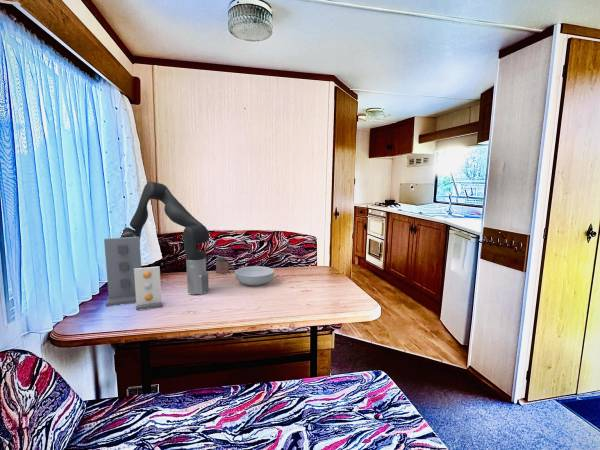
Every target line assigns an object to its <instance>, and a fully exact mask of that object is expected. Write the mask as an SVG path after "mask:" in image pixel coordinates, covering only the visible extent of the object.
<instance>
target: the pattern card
mask: <svg viewBox="0 0 600 450" xmlns="http://www.w3.org/2000/svg"><path fill="white" fill-rule="evenodd" d="M160 270H161V269H160V266H150V267H149V266H148V267H141V268H137V269H134V278H135V292H136V303H135V304H136V305H135V306H136V307H135V311H136V310H138V311H141V310H140V309H145V310H148V309H147V308H153V309H155V308H154V307H160V308H162V304H163V301H162V288H161V285H162V284H161V271H160Z"/></svg>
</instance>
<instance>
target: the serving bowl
mask: <svg viewBox="0 0 600 450" xmlns="http://www.w3.org/2000/svg"><path fill="white" fill-rule="evenodd" d="M274 274H275V270H274V269H273V268H271V267H269V266H260V265H254V266H253V265H252V266H244V267H240V268H238V269H236V270H235V271H234V275H235V279H236V280H237V281H238V282H240V283H241V284H244V285H247V286H252V285H255V286H261V285H264V284H267V283H269V282H271V280H272V279H273V278H274Z"/></svg>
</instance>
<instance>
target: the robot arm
mask: <svg viewBox="0 0 600 450" xmlns="http://www.w3.org/2000/svg"><path fill="white" fill-rule="evenodd" d="M141 192H142V193H141V196H140V199H139V202H138V205H137V208H136V210H135V212H134V214H133V216H132V218H131V220H130V222H129V226H130V227H124V228H125V229H124V230H123V233H122V235H121V237H120V236H119V238H125V237H139V238H140V239H141V237H142V230H143V227H144V226H145V224H146V222H147V220H148V218H149V209H148V204H149V202H150V200H151V199H152V200H154V201H155V200H156V201H161V202H162V203H163V205H164V206H163V207H164V208H163V209H164V214H165V215H166V216H167V217H168V219H169V220H170V221H172V222H173V223H174V224H176V225H179V226H181V227H183V228H184V229H183V233H182V235H183V236H182V237H183V248H184V249H183V251H184V255H185V259H186V260H185V261H186V262H185V263H186V264H185V266H186V284H187V294H188V293H190V294H203V293H204V292H206V291H208V290H209V289H210V287H209V285H210V284H209V283H210V281H209V273H208V272H207V255H206V252H205V251H204V250H199V249H197V245H202V244H206V243H207V242H208V241H209V239H210V233H209V230H208V229H207V227H206V226H205V225H204V224H203V223H201V222H200V221H199V220H198V219H196V217H194V216H193V215H192V214H191V213H190V212H189V211H188V210H187V209H186V207H185V206H183V204H182V203H181V202H180V201H179V200H178V199H177V198H176V197H175V196H174V195H173V194H172V192H171V191H170V189H169V188H168V187H167V185H165V184H163V183H159V182H155V181H148V182H146V184H145V185H144V187H143V190H142V191H141ZM209 291H210V290H209ZM209 291H208V292H209ZM206 293H207V292H206ZM190 294H189V295H190ZM204 294H205V293H204ZM204 294H203V295H204Z"/></svg>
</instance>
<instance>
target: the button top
mask: <svg viewBox="0 0 600 450" xmlns="http://www.w3.org/2000/svg"><path fill="white" fill-rule="evenodd" d="M124 253H127V245H123V246H118V254H124Z"/></svg>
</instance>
